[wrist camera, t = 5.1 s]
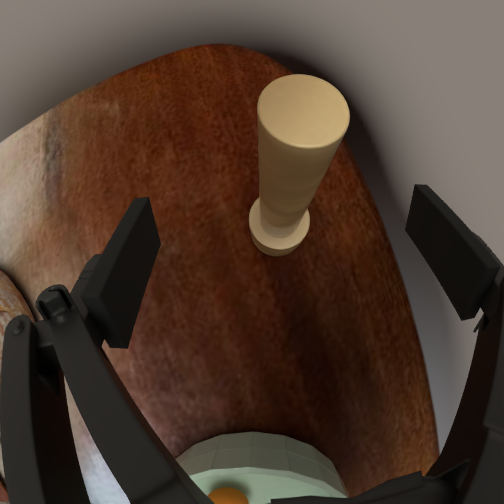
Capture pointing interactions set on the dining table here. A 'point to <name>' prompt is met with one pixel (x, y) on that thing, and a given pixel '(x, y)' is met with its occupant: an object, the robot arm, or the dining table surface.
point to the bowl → (262, 467)
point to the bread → (10, 306)
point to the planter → (3, 494)
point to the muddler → (293, 156)
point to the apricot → (228, 496)
